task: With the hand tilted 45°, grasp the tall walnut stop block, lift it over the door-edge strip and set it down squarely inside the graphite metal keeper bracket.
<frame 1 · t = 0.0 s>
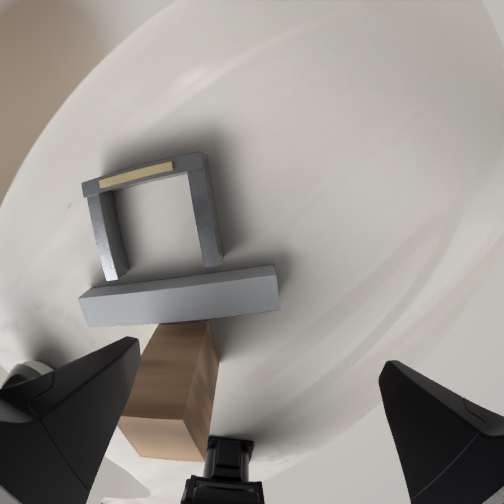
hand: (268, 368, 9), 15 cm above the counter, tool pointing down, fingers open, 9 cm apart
dark grey egg shape: (52, 379, 28), on the counter
keeper: (159, 228, 22), on the counter
stop block: (189, 344, 25), on the counter
door edge: (174, 294, 24), on the counter
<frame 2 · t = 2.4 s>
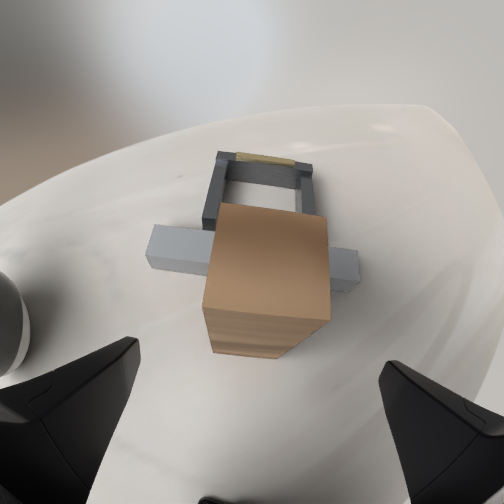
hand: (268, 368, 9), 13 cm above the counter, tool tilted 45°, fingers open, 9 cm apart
dark grey egg shape: (11, 336, 18), on the counter
keeper: (258, 212, 28), on the counter
stop block: (247, 326, 22), on the counter
door edge: (253, 266, 25), on the counter
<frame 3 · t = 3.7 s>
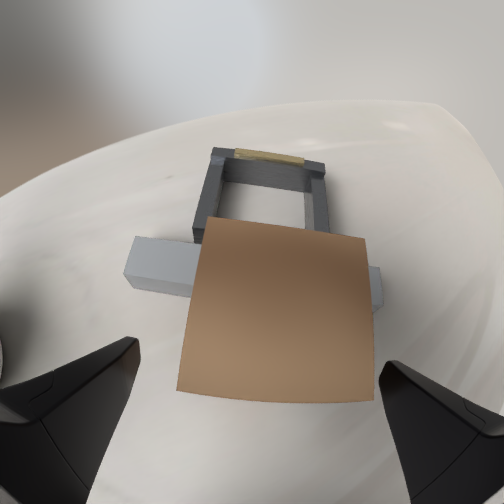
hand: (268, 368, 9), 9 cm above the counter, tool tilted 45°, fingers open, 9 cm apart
keeper: (261, 220, 23), on the counter
stop block: (248, 361, 17), on the counter
door edge: (255, 286, 20), on the counter
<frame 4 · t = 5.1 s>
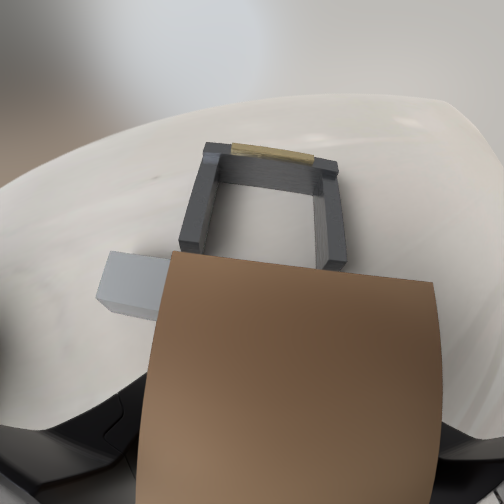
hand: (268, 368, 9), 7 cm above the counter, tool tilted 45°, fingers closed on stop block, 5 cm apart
keeper: (263, 229, 19), on the counter
stop block: (247, 401, 14), on the counter, touching gripper
door edge: (256, 311, 16), on the counter
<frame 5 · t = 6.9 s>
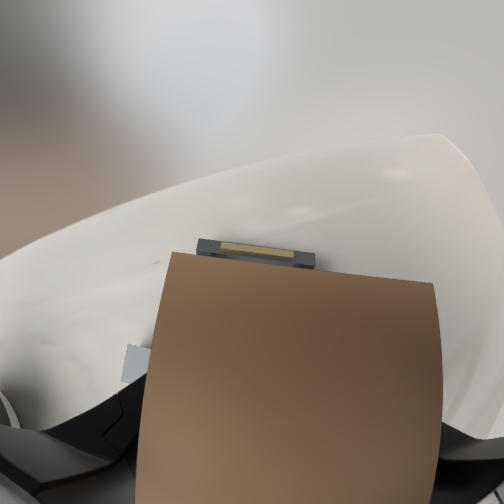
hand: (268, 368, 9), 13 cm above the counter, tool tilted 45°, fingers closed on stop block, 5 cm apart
dark grey egg shape: (4, 426, 13), on the counter
keeper: (248, 315, 23), on the counter
stop block: (247, 402, 14), point 7 cm above the counter, touching gripper
door edge: (241, 385, 20), on the counter
when the fingers open (8 cm above the counter, at t = 9.1 s): stop block drops 1 cm, on the counter.
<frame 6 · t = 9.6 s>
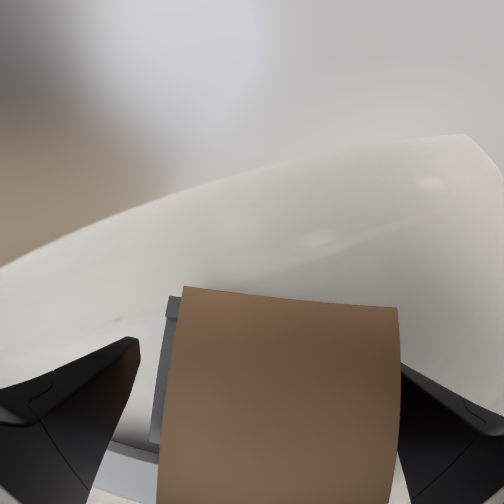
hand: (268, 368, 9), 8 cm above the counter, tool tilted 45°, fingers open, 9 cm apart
keeper: (245, 400, 15), on the counter
stop block: (245, 401, 15), on the counter
door edge: (236, 485, 12), on the counter
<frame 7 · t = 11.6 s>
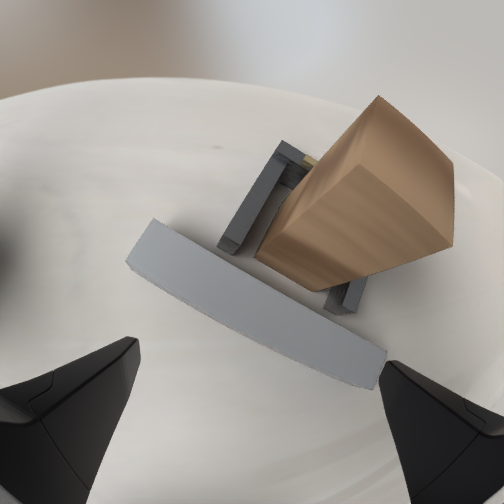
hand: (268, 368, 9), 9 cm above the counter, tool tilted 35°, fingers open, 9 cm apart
keeper: (297, 245, 20), on the counter
stop block: (297, 246, 20), on the counter
door edge: (262, 319, 18), on the counter
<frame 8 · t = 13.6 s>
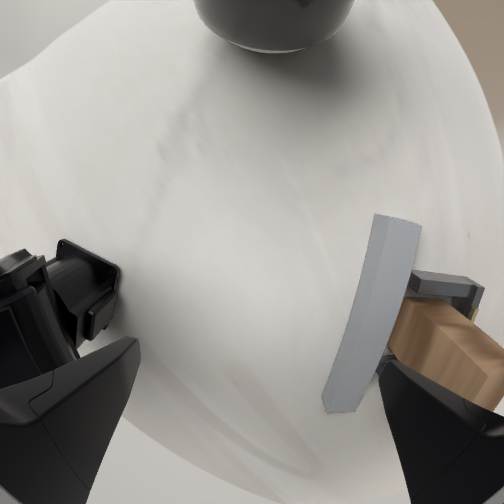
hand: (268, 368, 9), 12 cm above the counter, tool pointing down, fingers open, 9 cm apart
dark grey egg shape: (267, 20, 15), on the counter
keeper: (416, 321, 22), on the counter
stop block: (415, 321, 22), on the counter
door edge: (363, 320, 22), on the counter
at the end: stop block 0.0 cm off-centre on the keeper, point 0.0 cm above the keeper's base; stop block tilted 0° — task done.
